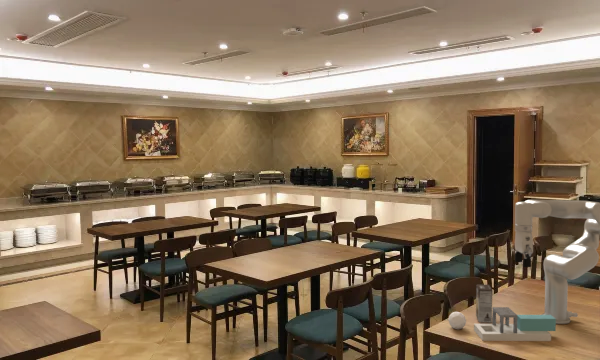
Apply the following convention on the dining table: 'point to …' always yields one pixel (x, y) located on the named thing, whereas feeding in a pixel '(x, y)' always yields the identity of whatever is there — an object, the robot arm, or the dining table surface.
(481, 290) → the coffee box
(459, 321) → the geometric ball
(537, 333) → the white base plate
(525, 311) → the dining table surface
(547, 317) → the block
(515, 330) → the tunnel
